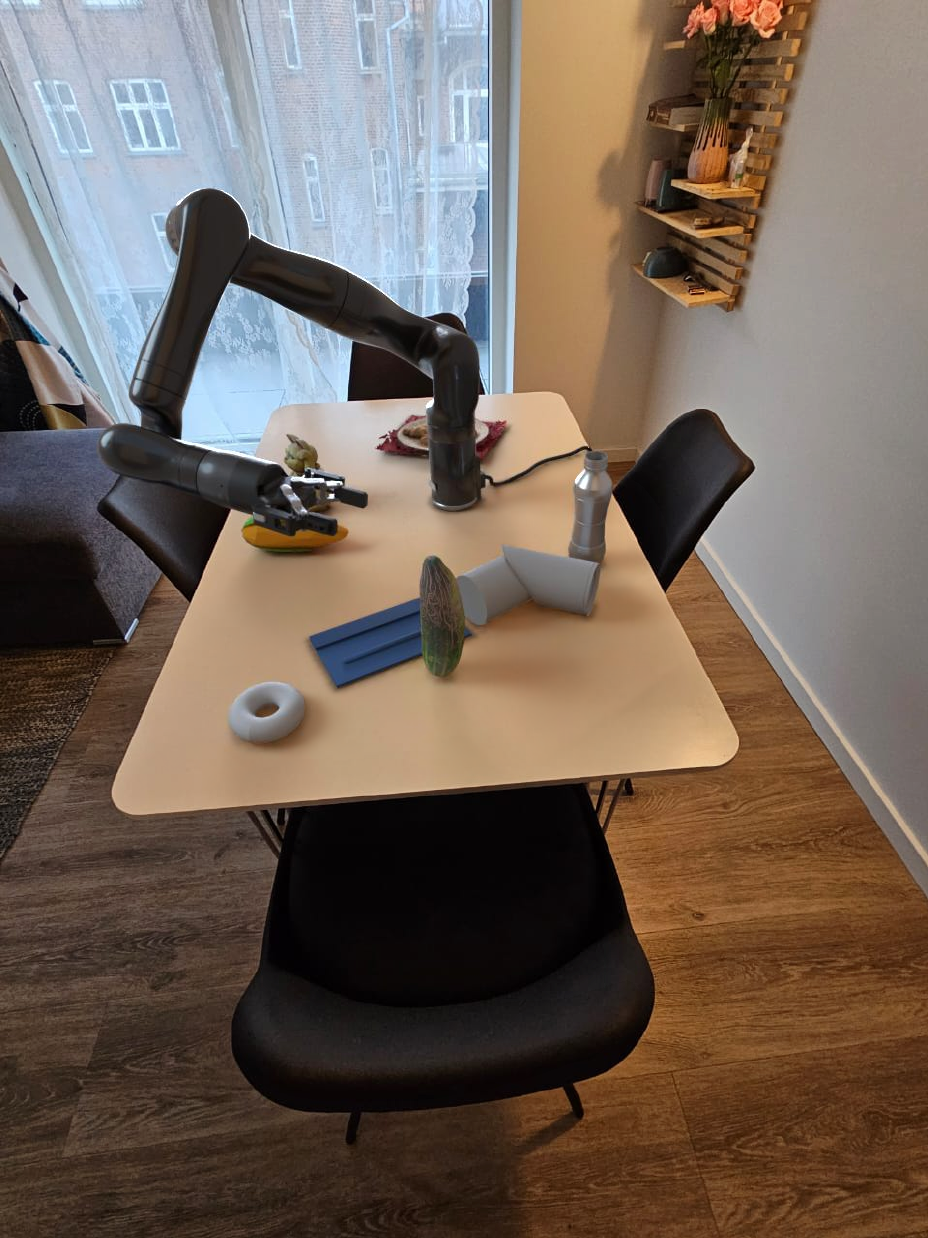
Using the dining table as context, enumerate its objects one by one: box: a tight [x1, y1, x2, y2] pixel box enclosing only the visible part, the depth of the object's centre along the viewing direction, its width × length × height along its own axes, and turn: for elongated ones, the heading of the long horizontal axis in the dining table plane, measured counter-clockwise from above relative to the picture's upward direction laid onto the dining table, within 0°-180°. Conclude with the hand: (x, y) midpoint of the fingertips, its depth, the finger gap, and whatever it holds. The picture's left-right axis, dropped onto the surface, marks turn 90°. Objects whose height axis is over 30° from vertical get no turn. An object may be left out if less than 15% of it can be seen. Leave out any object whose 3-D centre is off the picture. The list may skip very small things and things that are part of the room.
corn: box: [240, 515, 349, 553], centre depth 119 cm, size 7×8×20 cm
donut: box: [228, 681, 306, 744], centre depth 87 cm, size 10×4×10 cm
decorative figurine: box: [283, 433, 334, 514], centre depth 129 cm, size 10×8×15 cm
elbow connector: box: [455, 544, 601, 626], centre depth 102 cm, size 18×10×20 cm
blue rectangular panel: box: [308, 596, 473, 689], centre depth 100 cm, size 22×12×1 cm, turn 119°
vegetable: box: [418, 554, 466, 678], centre depth 88 cm, size 6×6×20 cm
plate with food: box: [374, 414, 508, 460], centre depth 156 cm, size 24×26×4 cm
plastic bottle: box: [567, 450, 614, 563], centre depth 108 cm, size 6×7×20 cm
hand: (352, 514), depth 84 cm, fingers open, 8 cm apart
